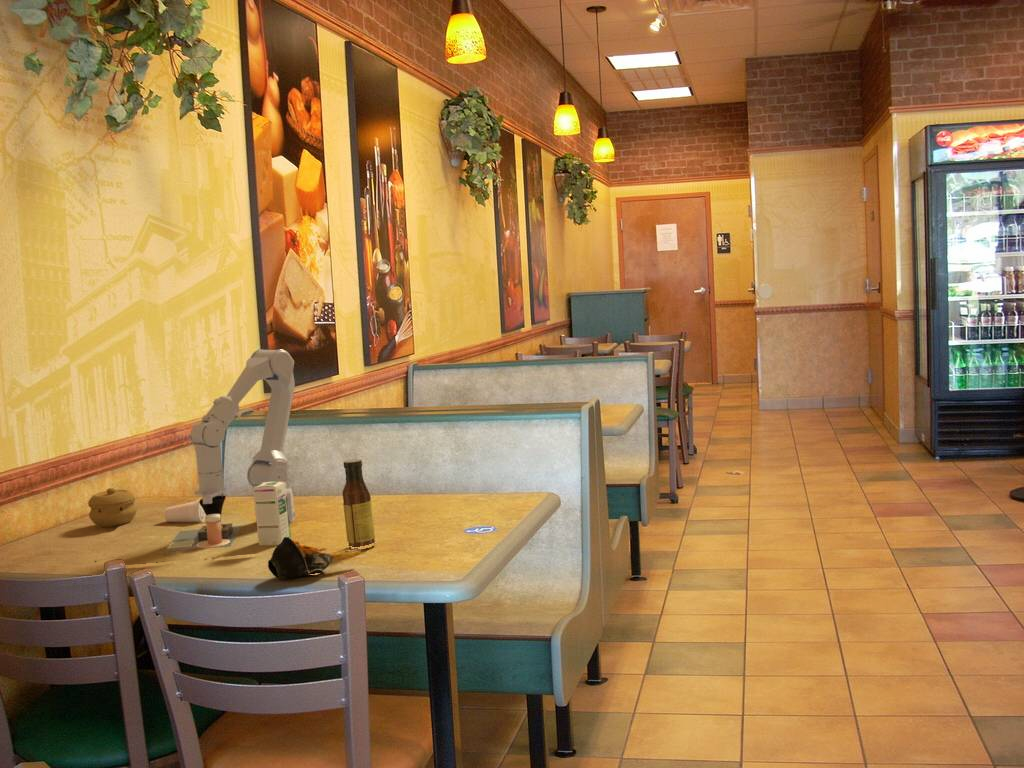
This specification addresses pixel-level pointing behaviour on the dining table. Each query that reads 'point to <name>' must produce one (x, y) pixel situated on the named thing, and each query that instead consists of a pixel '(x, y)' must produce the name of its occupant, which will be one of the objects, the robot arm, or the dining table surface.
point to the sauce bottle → (357, 506)
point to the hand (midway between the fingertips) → (215, 527)
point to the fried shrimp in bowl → (302, 559)
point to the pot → (112, 508)
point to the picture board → (190, 541)
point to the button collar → (225, 532)
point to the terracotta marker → (213, 529)
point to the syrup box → (271, 512)
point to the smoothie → (185, 513)
